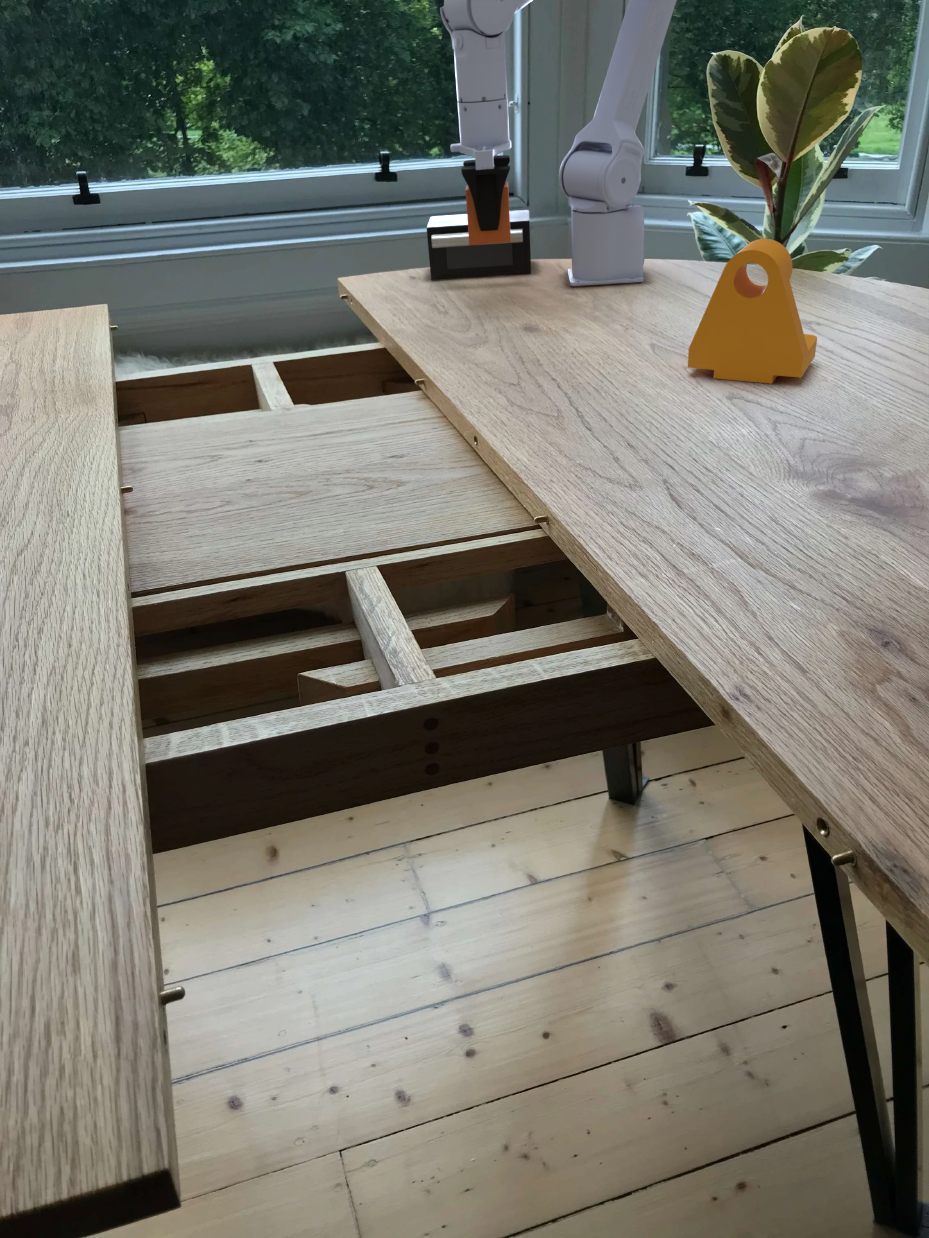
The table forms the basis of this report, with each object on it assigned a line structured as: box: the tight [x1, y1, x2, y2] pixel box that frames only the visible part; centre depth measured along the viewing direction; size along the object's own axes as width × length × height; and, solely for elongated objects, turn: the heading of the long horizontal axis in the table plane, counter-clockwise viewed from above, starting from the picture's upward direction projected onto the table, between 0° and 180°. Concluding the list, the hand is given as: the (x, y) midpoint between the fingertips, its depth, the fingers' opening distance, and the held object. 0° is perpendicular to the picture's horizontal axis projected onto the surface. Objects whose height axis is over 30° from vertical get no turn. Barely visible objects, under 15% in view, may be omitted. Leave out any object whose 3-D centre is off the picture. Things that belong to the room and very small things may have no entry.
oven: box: [426, 209, 532, 281], centre depth 135 cm, size 14×13×7 cm
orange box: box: [465, 180, 511, 245], centre depth 118 cm, size 5×4×6 cm
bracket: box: [687, 238, 818, 385], centre depth 93 cm, size 11×7×12 cm, turn 62°
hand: (489, 226), depth 118 cm, fingers closed on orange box, 4 cm apart
